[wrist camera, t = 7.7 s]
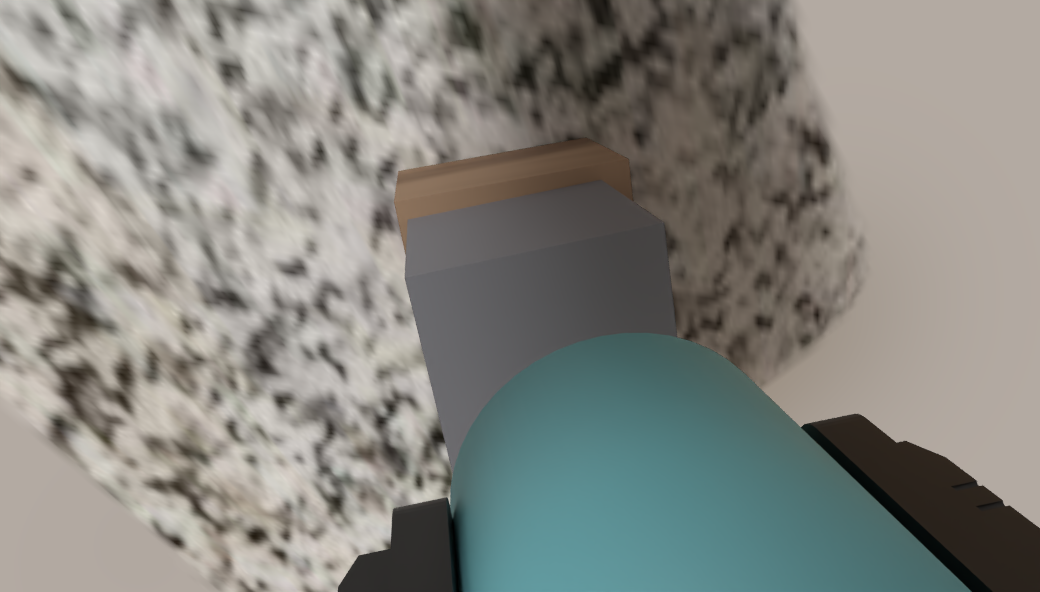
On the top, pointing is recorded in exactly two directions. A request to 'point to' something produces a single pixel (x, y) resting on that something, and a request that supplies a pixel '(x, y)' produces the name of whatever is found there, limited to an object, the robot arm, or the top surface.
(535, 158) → the walnut base block
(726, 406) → the teal cylinder
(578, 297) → the charcoal top block
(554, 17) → the top surface
